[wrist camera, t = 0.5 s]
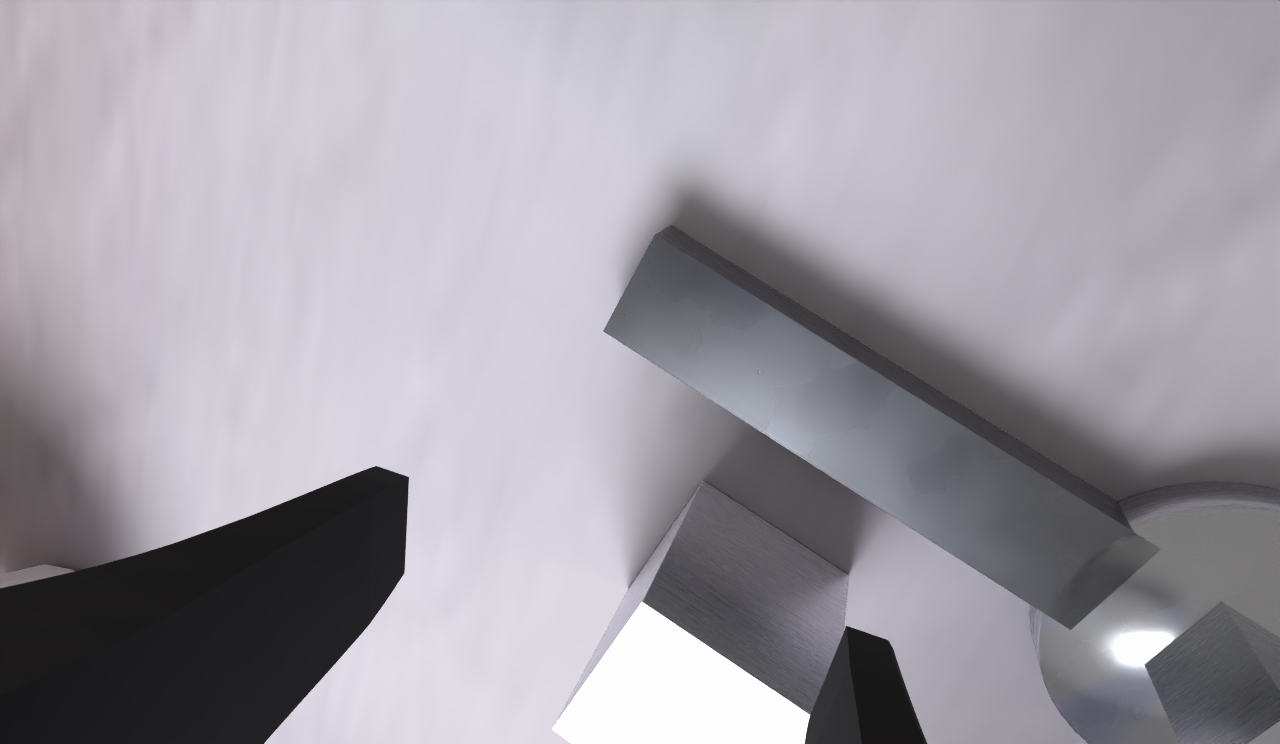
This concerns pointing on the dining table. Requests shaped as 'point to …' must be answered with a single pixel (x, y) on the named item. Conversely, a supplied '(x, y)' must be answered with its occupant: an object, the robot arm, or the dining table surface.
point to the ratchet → (998, 508)
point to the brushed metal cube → (713, 638)
